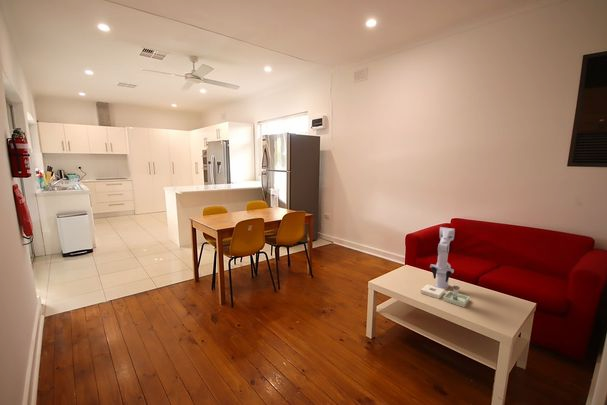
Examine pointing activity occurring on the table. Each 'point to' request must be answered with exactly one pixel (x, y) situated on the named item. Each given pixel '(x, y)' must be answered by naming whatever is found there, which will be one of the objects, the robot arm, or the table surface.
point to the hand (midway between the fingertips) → (440, 279)
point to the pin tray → (460, 302)
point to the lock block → (432, 291)
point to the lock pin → (455, 292)
